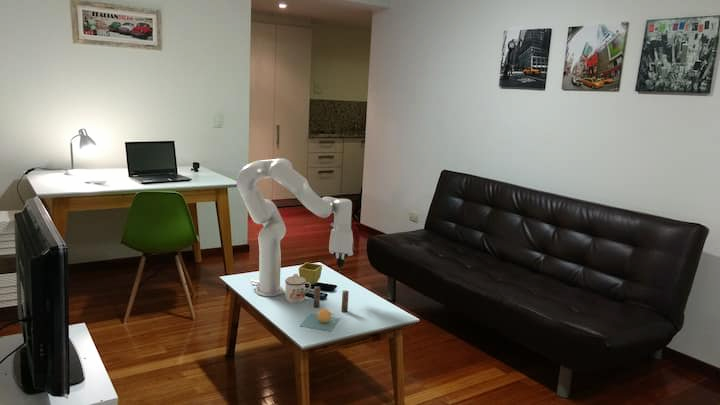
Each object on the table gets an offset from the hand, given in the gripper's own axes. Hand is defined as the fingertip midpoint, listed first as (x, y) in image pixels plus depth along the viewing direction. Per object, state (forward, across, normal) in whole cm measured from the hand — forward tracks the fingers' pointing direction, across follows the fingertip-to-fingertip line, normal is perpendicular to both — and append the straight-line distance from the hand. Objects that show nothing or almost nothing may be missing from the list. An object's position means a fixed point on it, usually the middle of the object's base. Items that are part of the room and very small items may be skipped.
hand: (340, 266), depth 249 cm
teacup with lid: (+15, -17, -7) cm, 24 cm away
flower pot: (+15, -18, +12) cm, 27 cm away
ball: (+12, +2, -26) cm, 29 cm away
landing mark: (+15, 0, -27) cm, 31 cm away
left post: (+15, -6, -13) cm, 21 cm away
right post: (+15, +6, -13) cm, 21 cm away
